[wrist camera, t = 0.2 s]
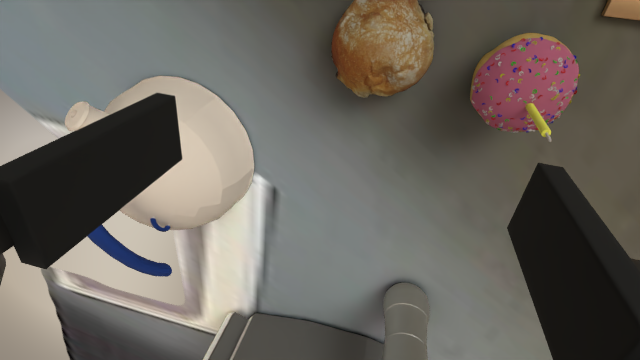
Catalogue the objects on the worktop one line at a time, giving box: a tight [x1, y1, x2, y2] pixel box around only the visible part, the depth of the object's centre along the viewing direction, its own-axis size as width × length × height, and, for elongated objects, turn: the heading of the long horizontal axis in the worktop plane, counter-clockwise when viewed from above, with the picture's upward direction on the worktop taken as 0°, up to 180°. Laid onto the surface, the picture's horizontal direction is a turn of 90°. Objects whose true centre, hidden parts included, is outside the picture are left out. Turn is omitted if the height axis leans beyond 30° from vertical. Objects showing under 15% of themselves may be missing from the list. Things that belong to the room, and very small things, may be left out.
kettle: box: [65, 76, 254, 276], centre depth 42 cm, size 20×21×18 cm
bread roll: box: [331, 0, 434, 98], centre depth 35 cm, size 10×10×8 cm
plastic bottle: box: [382, 283, 430, 360], centre depth 45 cm, size 6×7×20 cm
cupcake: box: [470, 33, 580, 142], centre depth 31 cm, size 9×8×12 cm
